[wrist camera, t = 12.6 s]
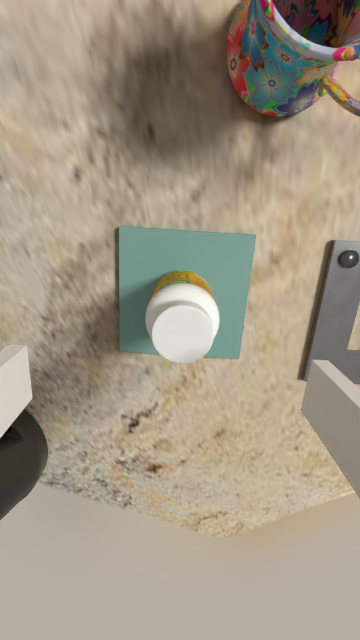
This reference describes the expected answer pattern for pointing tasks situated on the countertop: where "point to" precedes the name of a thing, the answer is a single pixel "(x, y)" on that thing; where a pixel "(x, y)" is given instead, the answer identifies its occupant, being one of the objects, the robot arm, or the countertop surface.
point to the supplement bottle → (182, 317)
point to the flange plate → (337, 312)
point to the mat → (183, 254)
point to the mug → (292, 52)
